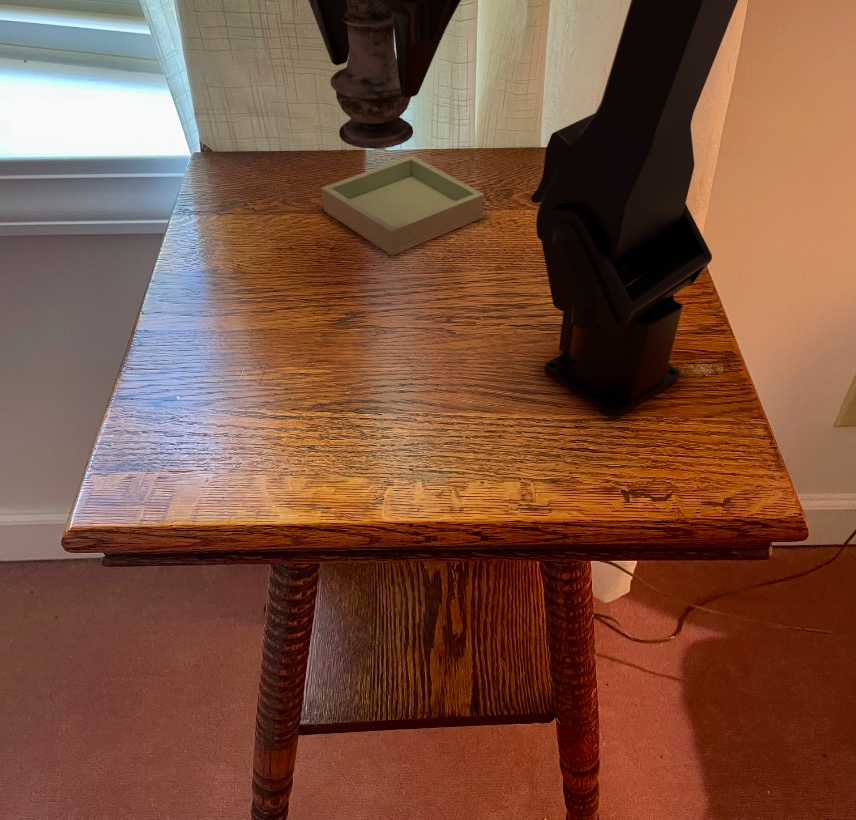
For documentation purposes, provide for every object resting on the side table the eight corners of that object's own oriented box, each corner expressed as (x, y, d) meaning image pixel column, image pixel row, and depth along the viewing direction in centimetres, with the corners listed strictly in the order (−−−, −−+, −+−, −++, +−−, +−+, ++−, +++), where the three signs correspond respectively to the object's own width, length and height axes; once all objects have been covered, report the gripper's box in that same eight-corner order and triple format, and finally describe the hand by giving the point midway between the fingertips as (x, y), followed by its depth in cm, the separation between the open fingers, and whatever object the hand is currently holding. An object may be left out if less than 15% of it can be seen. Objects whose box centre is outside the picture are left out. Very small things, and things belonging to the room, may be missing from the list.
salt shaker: (425, 145, 57) (423, -61, 48) (341, 154, 56) (324, -54, 47) (407, 112, 61) (402, -84, 52) (329, 120, 60) (310, -78, 51)
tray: (483, 217, 69) (484, 193, 68) (391, 256, 65) (390, 231, 64) (412, 178, 75) (412, 155, 73) (323, 211, 71) (321, 187, 69)
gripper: (141, -230, 46) (200, 70, 57) (336, -194, 36) (360, 159, 48) (307, -246, 51) (330, 34, 62) (518, -218, 41) (500, 108, 52)
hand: (373, 79), depth 56 cm, fingers closed on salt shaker, 7 cm apart
